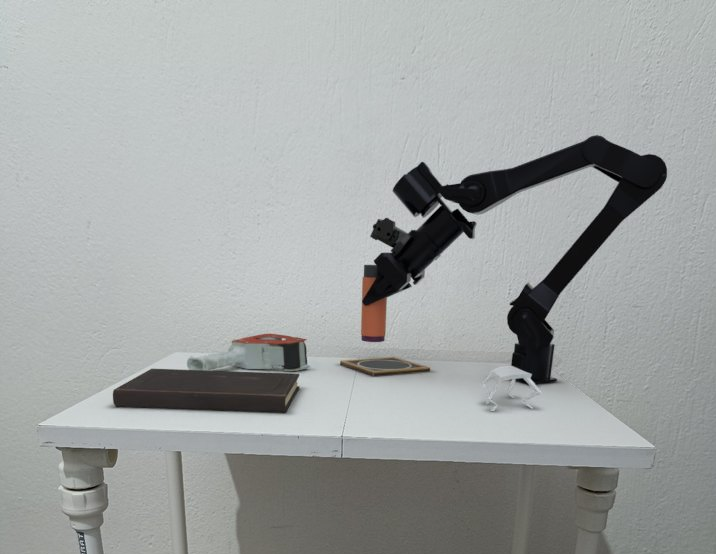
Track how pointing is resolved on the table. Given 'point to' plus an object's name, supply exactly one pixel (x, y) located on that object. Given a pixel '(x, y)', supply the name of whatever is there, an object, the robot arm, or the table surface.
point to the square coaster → (384, 366)
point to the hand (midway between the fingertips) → (366, 302)
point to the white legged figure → (509, 374)
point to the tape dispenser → (257, 354)
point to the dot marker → (372, 310)
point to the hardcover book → (209, 390)
